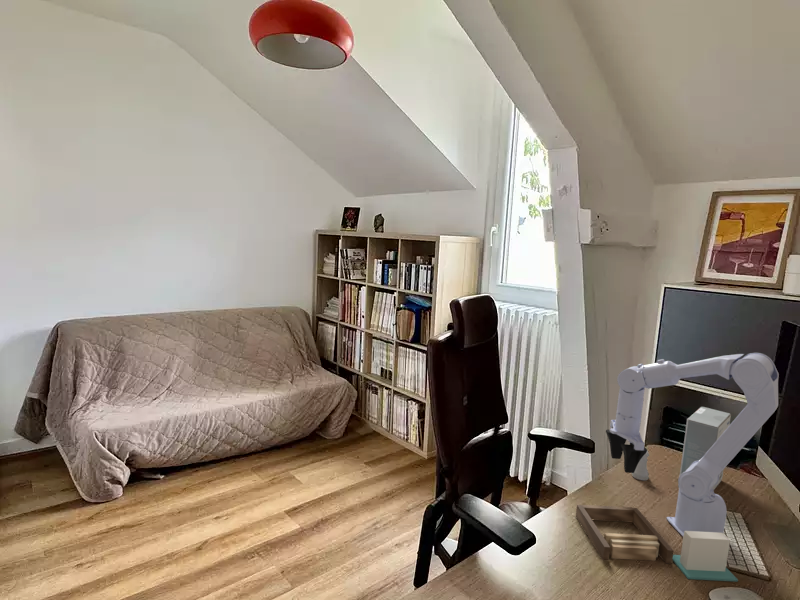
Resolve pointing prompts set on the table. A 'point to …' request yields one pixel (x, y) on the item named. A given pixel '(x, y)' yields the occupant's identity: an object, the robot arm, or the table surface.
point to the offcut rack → (618, 514)
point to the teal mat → (704, 573)
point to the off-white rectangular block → (704, 551)
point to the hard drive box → (702, 435)
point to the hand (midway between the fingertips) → (622, 465)
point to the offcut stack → (632, 546)
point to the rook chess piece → (642, 469)
